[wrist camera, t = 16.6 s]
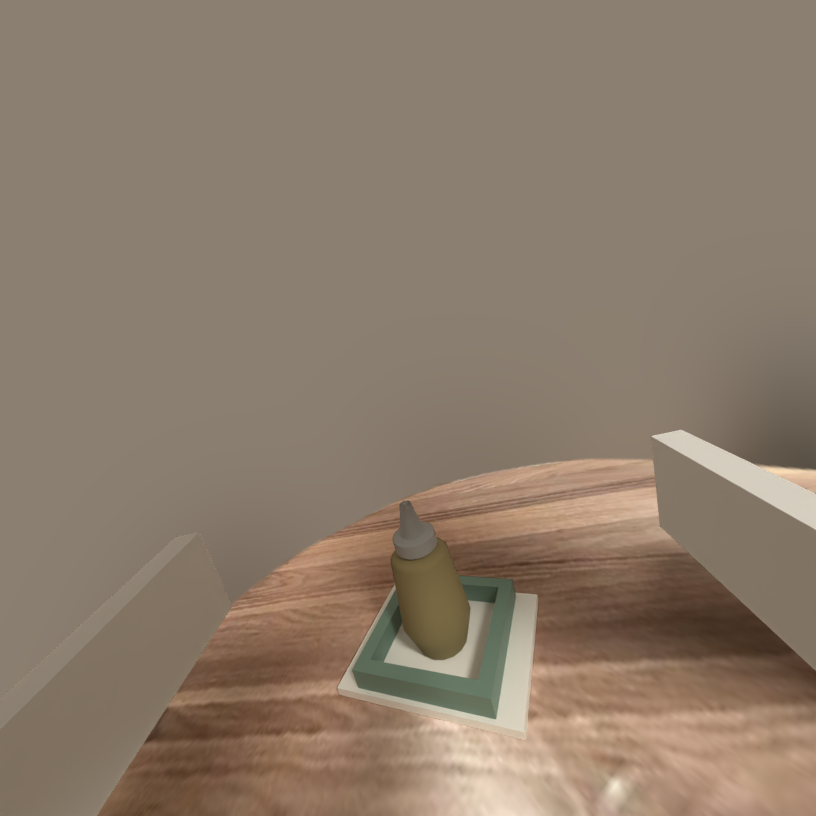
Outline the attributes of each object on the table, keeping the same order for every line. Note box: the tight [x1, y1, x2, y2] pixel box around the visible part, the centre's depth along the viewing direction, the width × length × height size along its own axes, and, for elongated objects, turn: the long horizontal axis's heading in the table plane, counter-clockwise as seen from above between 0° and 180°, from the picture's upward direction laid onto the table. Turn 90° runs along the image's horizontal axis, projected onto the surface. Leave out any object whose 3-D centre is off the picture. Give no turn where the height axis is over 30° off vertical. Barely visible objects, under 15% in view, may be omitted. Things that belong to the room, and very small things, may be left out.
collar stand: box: [337, 576, 538, 740], centre depth 44 cm, size 20×16×4 cm
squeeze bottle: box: [391, 501, 471, 660], centre depth 42 cm, size 8×8×18 cm
